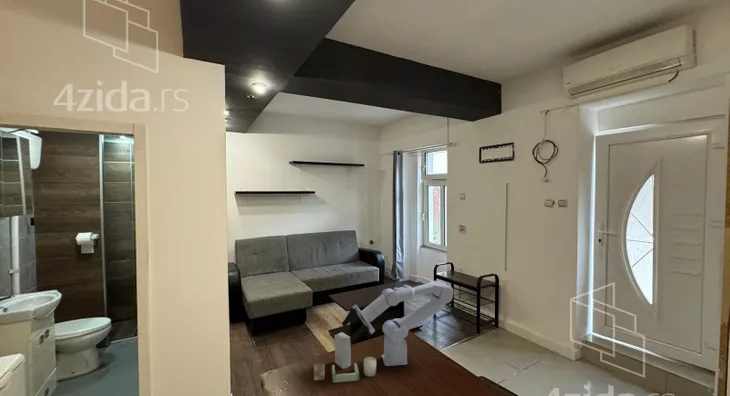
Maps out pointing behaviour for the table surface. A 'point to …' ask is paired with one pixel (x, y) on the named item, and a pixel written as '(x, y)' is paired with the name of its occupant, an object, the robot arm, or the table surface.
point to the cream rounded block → (369, 366)
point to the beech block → (319, 371)
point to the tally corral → (345, 375)
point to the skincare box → (342, 350)
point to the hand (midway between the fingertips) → (346, 331)
